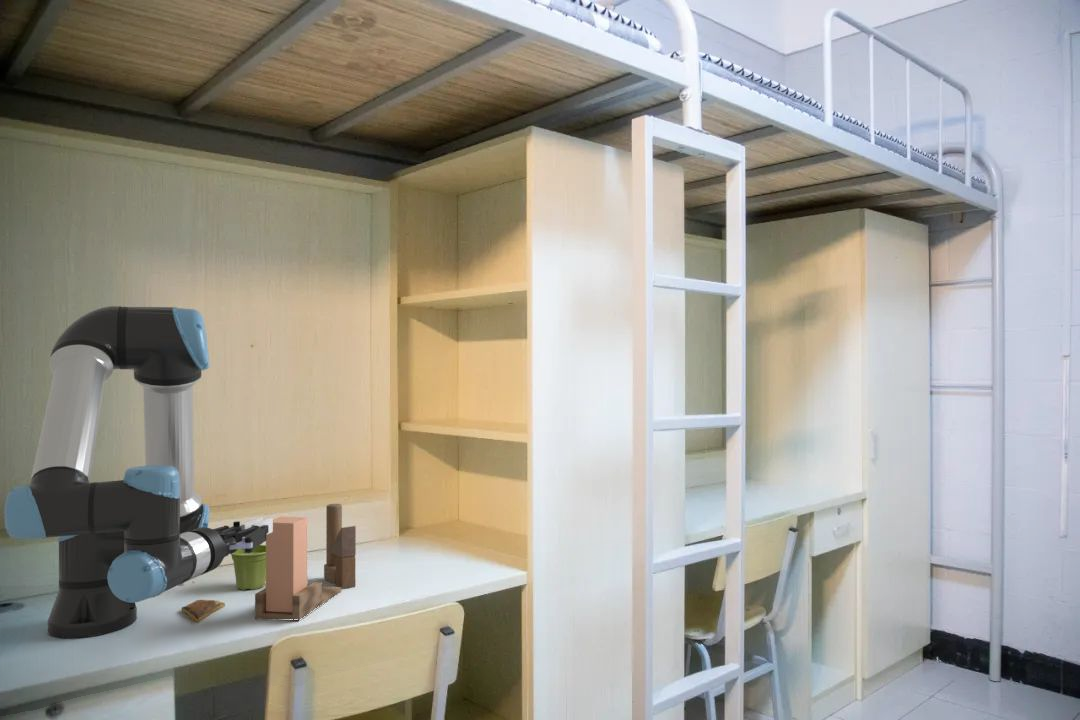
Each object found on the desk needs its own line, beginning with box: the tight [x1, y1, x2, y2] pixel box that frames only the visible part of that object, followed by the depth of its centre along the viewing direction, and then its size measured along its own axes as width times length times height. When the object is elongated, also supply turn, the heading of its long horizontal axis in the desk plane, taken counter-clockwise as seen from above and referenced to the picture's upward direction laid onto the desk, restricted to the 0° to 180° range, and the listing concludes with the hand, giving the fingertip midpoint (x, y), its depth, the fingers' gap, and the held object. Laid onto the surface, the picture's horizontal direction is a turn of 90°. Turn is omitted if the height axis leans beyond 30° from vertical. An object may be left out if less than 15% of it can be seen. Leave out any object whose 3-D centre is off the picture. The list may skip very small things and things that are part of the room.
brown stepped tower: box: [323, 503, 357, 590], centre depth 177 cm, size 4×11×18 cm, turn 37°
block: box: [265, 516, 308, 613], centre depth 155 cm, size 6×6×18 cm
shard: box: [181, 599, 226, 624], centre depth 154 cm, size 11×8×2 cm
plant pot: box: [230, 544, 266, 591], centre depth 174 cm, size 9×9×9 cm
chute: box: [254, 581, 342, 621], centre depth 160 cm, size 20×10×5 cm, turn 171°
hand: (266, 524), depth 146 cm, fingers closed
